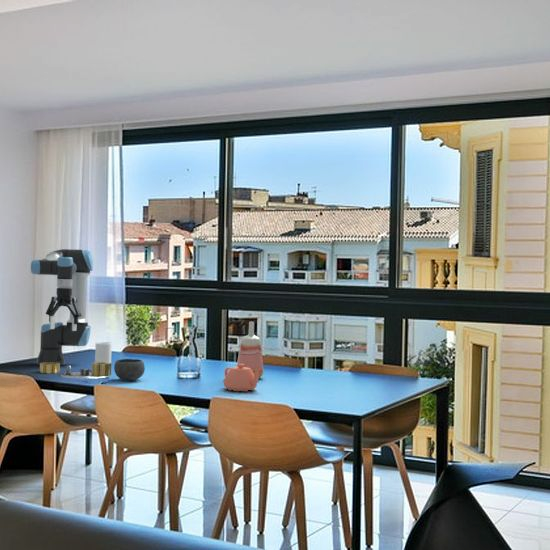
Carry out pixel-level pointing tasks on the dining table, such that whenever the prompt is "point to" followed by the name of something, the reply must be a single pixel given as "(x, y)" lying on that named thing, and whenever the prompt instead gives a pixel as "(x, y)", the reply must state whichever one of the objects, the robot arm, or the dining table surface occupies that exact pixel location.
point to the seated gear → (101, 369)
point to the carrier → (81, 375)
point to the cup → (103, 352)
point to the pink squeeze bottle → (251, 351)
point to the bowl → (129, 369)
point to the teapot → (241, 378)
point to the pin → (68, 370)
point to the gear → (49, 367)
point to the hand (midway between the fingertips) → (63, 329)
